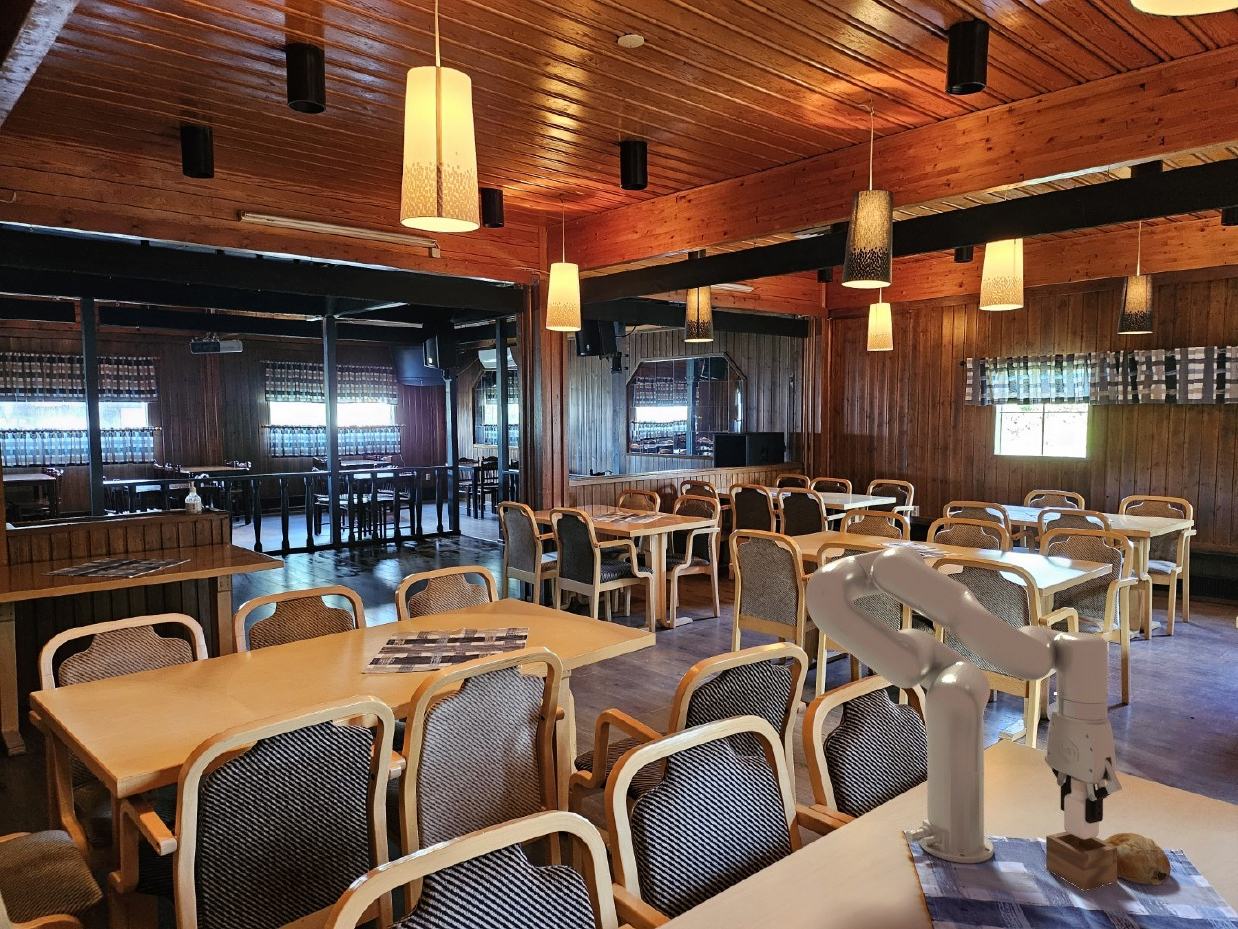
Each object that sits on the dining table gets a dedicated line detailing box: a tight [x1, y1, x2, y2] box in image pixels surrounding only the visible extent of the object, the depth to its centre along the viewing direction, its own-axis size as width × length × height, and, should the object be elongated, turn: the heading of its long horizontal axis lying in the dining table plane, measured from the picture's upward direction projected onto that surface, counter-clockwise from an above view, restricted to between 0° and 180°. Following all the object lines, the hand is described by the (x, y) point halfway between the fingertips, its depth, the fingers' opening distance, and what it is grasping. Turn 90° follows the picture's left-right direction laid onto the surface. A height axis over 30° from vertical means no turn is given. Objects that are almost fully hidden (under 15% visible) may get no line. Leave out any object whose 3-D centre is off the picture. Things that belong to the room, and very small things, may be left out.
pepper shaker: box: [1063, 776, 1100, 839], centre depth 140 cm, size 4×4×10 cm
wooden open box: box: [1045, 831, 1118, 891], centre depth 141 cm, size 7×7×6 cm
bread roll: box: [1103, 832, 1172, 887], centre depth 142 cm, size 10×10×8 cm
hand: (1081, 814), depth 140 cm, fingers closed on pepper shaker, 4 cm apart
